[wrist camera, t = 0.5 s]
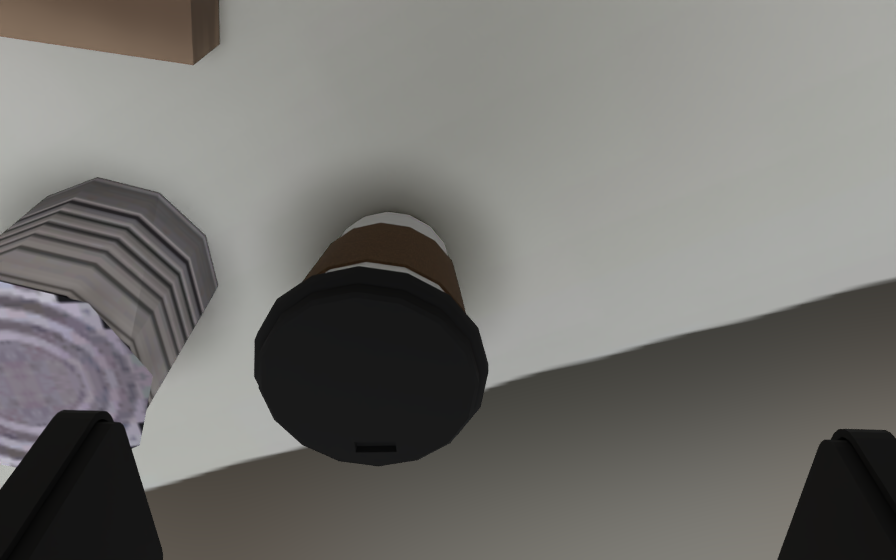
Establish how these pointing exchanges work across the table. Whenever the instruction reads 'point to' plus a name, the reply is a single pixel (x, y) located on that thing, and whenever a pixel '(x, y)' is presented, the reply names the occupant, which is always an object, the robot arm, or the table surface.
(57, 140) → the table surface
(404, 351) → the coffee cup
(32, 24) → the walnut plinth
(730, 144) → the table surface
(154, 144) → the table surface
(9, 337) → the can
